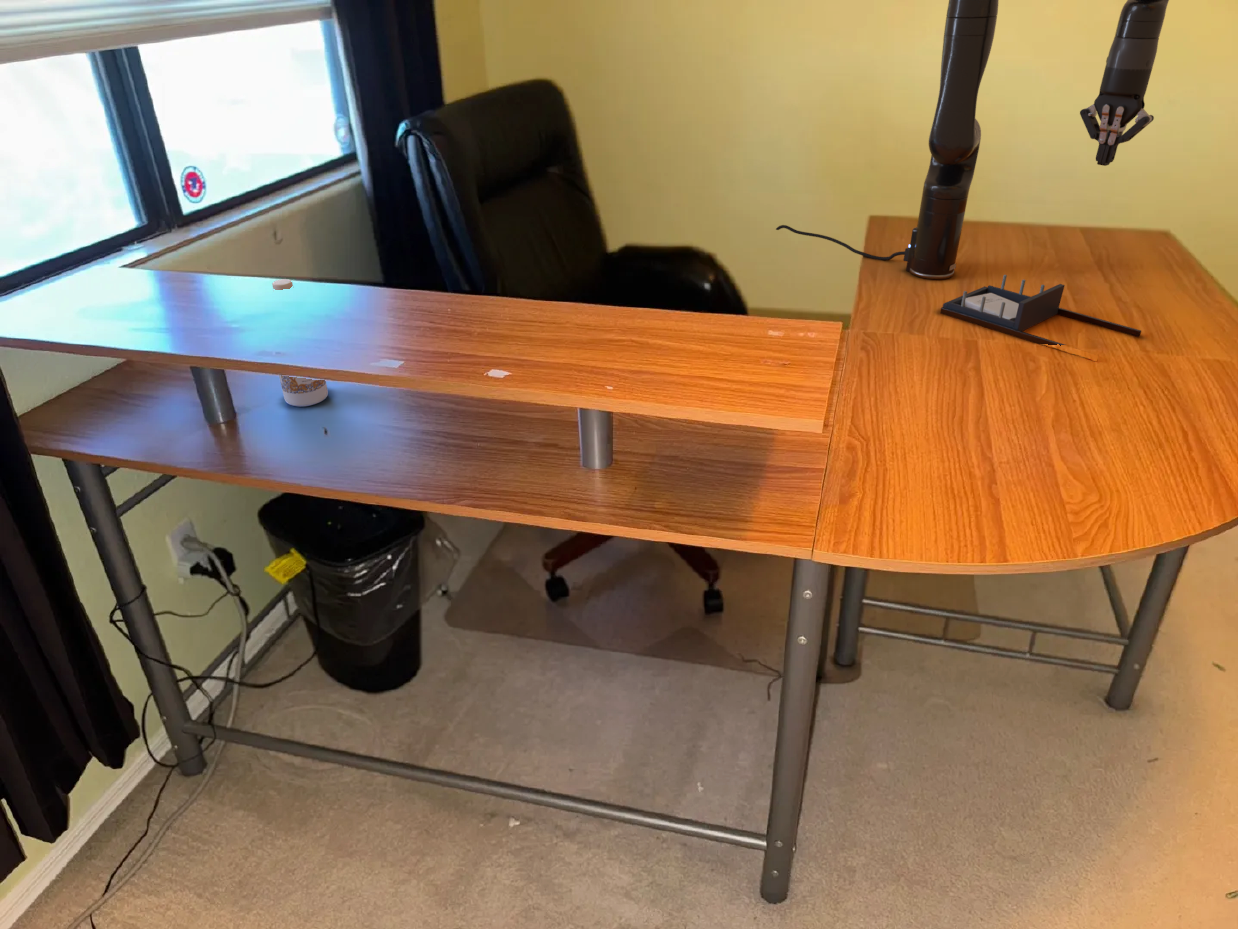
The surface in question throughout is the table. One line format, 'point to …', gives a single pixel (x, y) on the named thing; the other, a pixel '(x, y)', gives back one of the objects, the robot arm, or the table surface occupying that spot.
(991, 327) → the rack rails
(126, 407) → the table surface
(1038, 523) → the table surface
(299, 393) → the patterned jar
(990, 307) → the hard drive
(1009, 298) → the rack
